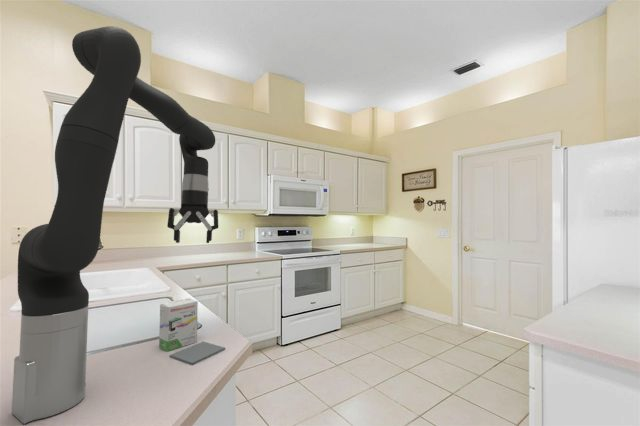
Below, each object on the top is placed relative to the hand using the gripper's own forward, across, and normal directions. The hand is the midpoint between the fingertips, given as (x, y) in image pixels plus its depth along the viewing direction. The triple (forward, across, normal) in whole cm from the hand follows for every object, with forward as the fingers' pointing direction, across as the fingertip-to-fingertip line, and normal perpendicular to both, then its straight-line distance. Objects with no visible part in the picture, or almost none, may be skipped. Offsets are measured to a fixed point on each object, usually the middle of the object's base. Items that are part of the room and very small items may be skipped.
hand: (193, 242), depth 88 cm
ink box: (+28, -2, -6) cm, 29 cm away
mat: (+28, +4, -14) cm, 31 cm away
